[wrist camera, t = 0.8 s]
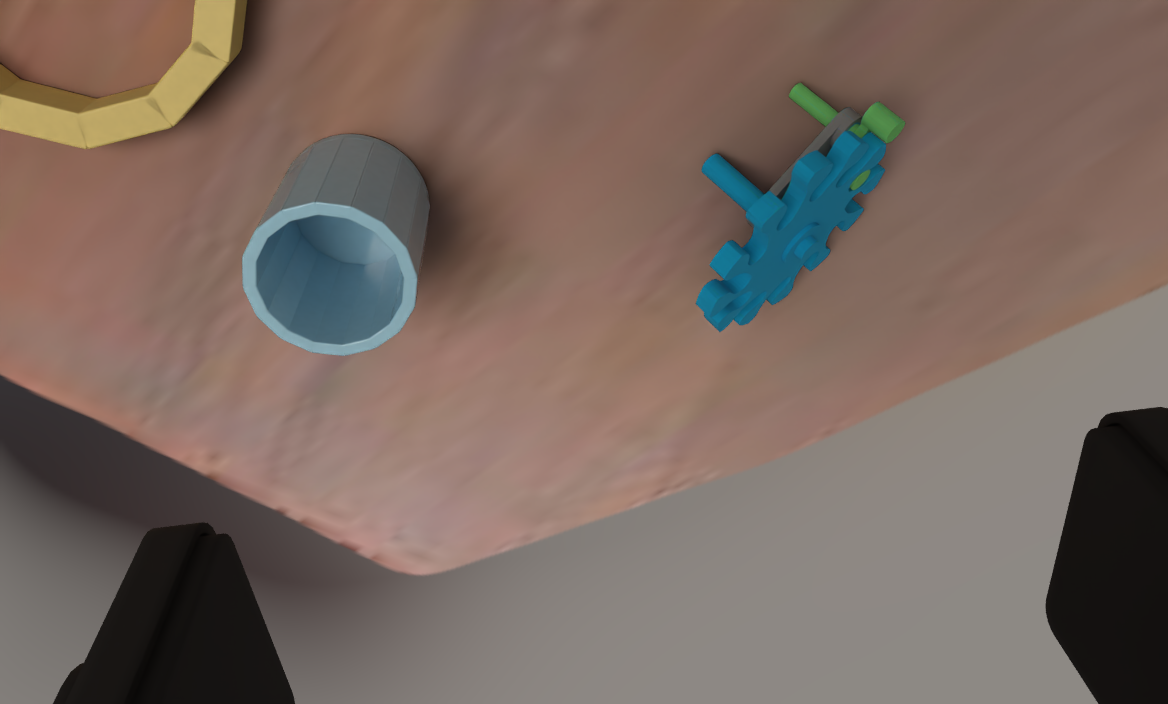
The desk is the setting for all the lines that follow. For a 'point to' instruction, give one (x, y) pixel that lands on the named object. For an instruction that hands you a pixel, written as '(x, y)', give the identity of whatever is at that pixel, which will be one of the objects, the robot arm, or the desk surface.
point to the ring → (137, 110)
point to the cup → (340, 247)
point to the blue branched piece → (795, 208)
